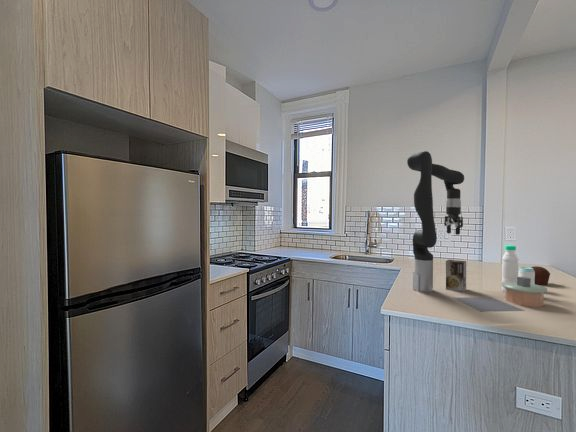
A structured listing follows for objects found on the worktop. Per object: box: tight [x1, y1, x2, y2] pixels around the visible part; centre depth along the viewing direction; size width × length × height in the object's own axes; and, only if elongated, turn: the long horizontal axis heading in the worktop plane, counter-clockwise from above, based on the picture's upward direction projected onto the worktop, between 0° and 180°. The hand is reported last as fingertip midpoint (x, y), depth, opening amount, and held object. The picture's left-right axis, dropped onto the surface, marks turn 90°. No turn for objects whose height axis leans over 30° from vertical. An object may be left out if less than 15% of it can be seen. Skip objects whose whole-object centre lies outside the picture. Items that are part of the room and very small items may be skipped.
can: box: [518, 266, 535, 284], centre depth 165 cm, size 7×7×12 cm
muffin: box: [530, 266, 551, 286], centre depth 178 cm, size 12×11×10 cm
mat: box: [453, 296, 526, 312], centre depth 138 cm, size 20×20×1 cm
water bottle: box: [501, 244, 519, 292], centre depth 160 cm, size 7×7×25 cm
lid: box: [501, 276, 548, 294], centre depth 141 cm, size 17×17×5 cm
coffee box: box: [445, 259, 467, 292], centre depth 164 cm, size 9×6×16 cm
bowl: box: [504, 288, 545, 308], centre depth 141 cm, size 14×14×7 cm
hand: (453, 233), depth 175 cm, fingers open, 8 cm apart
